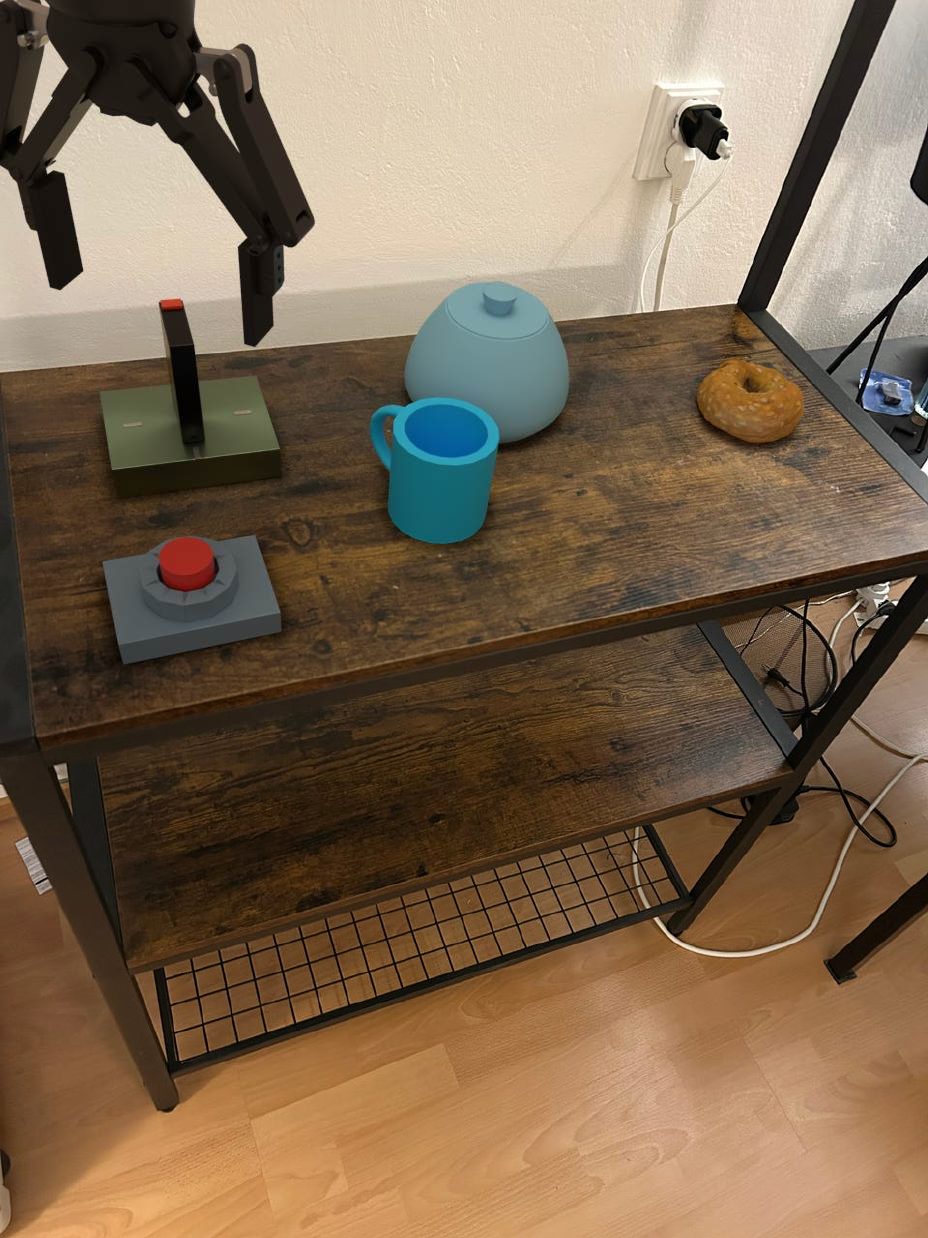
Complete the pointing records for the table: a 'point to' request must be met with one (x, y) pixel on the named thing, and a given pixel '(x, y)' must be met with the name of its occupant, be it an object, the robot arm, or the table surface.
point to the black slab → (182, 370)
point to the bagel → (750, 401)
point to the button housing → (191, 602)
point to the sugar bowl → (492, 357)
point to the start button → (187, 564)
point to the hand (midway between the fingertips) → (161, 307)
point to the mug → (437, 467)
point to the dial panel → (163, 463)
